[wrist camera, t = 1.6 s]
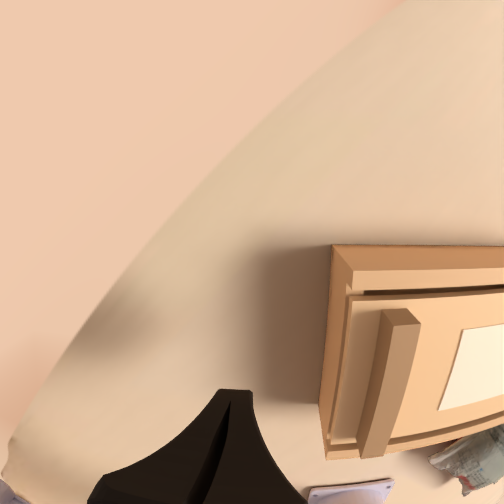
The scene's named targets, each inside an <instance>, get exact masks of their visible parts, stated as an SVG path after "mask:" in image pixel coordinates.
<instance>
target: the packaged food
mask: <svg viewBox="0 0 504 504" xmlns="http://www.w3.org/2000/svg"><path fill="white" fill-rule="evenodd" d="M428 460H429V463H430V464H431V465H433V466H434V467H436V468H437V469H439V470H443V469H445V470H447V471H448V472H450V474H451V475H453V476H454V477H456V478H459V481H460V482H461V484H462V494H463V496H466V495H468V494H469V493H470V492H471V491H473V490H478V489H480V488H483V487H485V486H488V485H490V484H492V483H494V484H495V483H496V482H497V481H498V480H499V479H500V478H501V477H503V476H504V423H503V424H500V425H497V426H494V427H492V428H489V429H486V430H483V431H480V432H477V433H474V434H470V435H467V436H464V437H460V438H459V439H458V440H456V441H455V442H454V443H453V444H451V445H450V446H449V447H448V448H445V450H444V451H443V452H437V453H436V454H433V455H432V456H429V457H428Z"/></svg>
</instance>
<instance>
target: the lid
mask: <svg viewBox="0 0 504 504" xmlns="http://www.w3.org/2000/svg"><path fill="white" fill-rule="evenodd" d="M503 410H504V288H503V289H491V290H477V291H462V292H446V293H427V294H404V295H375V296H350V297H349V308H348V318H347V328H346V336H345V345H344V353H343V360H342V367H341V374H340V381H339V387H338V394H337V400H336V405H335V411H334V417H333V422H332V427H331V432H330V443H331V445H333V444H346V443H357V446H358V450H359V454H360V458H361V459H365V458H373V457H380V456H383V455H384V453H385V450H386V447H387V445H388V442H389V439H390V438H395V437H402V436H407V435H413V434H418V433H423V432H428V431H433V430H437V429H441V428H446V427H450V426H454V425H457V424H461V423H465V422H468V421H472V420H475V419H479V418H482V417H485V416H488V415H491V414H494V413H497V412H500V411H503Z"/></svg>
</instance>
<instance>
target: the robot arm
mask: <svg viewBox="0 0 504 504" xmlns="http://www.w3.org/2000/svg"><path fill="white" fill-rule="evenodd" d="M394 484H395V481H394V479H388V480H382V481H376V482H369V483H361V484H353V485H344V486H333V487H319V488H313V489H311V490H310V493H309V497H308V502H307V501H306V500H305V499H304V498H303V497H302V496H301V495H300V494H299V493H298V492H297V490H296V489H295V488H294V487H293V486H292V485H291V483H290V482H289V481H288V480H287V479H286V477H285V476H284V474H283V473H282V472H281V470H280V469H279V467H278V466H277V464H276V463H275V461H274V459H273V458H272V456H271V454H270V452H269V450H268V448H267V446H266V444H265V442H264V440H263V438H262V435H261V433H260V430H259V427H258V424H257V421H256V418H255V414H254V409H253V392H251V391H250V390H234V389H219V390H218V391H217V392H216V394H215V395H214V396H213V398H212V399H211V400H210V402H209V403H208V404H207V405H206V407H205V408H204V409H203V410H202V411H201V413H200V414H199V415H198V416H197V417H196V418H195V419H194V420H193V421H192V422H191V423H190V424H189V425H188V426H187V427H186V428H185V429H184V430H183V431H182V432H181V433H180V434H179V435H178V436H176V437H175V438H174V439H173V440H171V441H170V442H169V443H168V444H166V445H165V446H163V447H162V448H160V449H159V450H157V451H156V452H154V453H153V454H151V455H150V456H148V457H146V458H144V459H142V460H140V461H138V462H136V463H134V464H132V465H130V466H128V467H125V468H123V469H120V470H117V471H114V472H111V473H108V474H105V475H103V476H102V478H101V479H100V480H99V481H98V483H97V484H96V486H95V488H94V489H93V491H92V493H91V495H90V497H89V498H88V500H87V504H384V502H385V500H386V498H387V496H388V495H389V493H390V491H391V489H392V487H393V485H394ZM0 504H30V503H29V502H27V501H25V500H24V499H22V498H20V497H19V496H17V495H15V493H14V491H13V490H12V489H11V488H10V487H9V486H8V485H7V484H6V483H5V482H4V481H2V480H1V479H0Z"/></svg>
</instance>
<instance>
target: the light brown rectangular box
mask: <svg viewBox="0 0 504 504" xmlns="http://www.w3.org/2000/svg"><path fill="white" fill-rule="evenodd" d="M503 288H504V246H446V245H331V269H330V288H329V303H328V317H327V329H326V341H325V351H324V361H323V370H322V379H321V387H320V395H319V403H318V406H319V413H320V420H321V427H322V434H323V442H324V449H325V457H326V460H337V459H348V458H358V457H360V454H359V450H358V446H357V443H346V444H333V445H331V443H330V432H331V427H332V422H333V417H334V411H335V405H336V400H337V394H338V387H339V381H340V374H341V367H342V360H343V353H344V345H345V336H346V328H347V318H348V308H349V297H350V296H375V295H404V294H427V293H446V292H462V291H477V290H491V289H503ZM503 423H504V410H503V411H500V412H497V413H494V414H491V415H488V416H485V417H482V418H479V419H475V420H472V421H468V422H465V423H461V424H457V425H454V426H450V427H446V428H441V429H437V430H433V431H428V432H423V433H418V434H413V435H407V436H402V437H395V438H390V439H389V442H388V445H387V447H386V450H385V453H384V454H388V453H394V452H400V451H405V450H410V449H415V448H420V447H425V446H429V445H433V444H438V443H442V442H446V441H449V440H453V439H457V438H460V437H464V436H467V435H470V434H474V433H477V432H480V431H483V430H486V429H489V428H492V427H494V426H497V425H500V424H503Z"/></svg>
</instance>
